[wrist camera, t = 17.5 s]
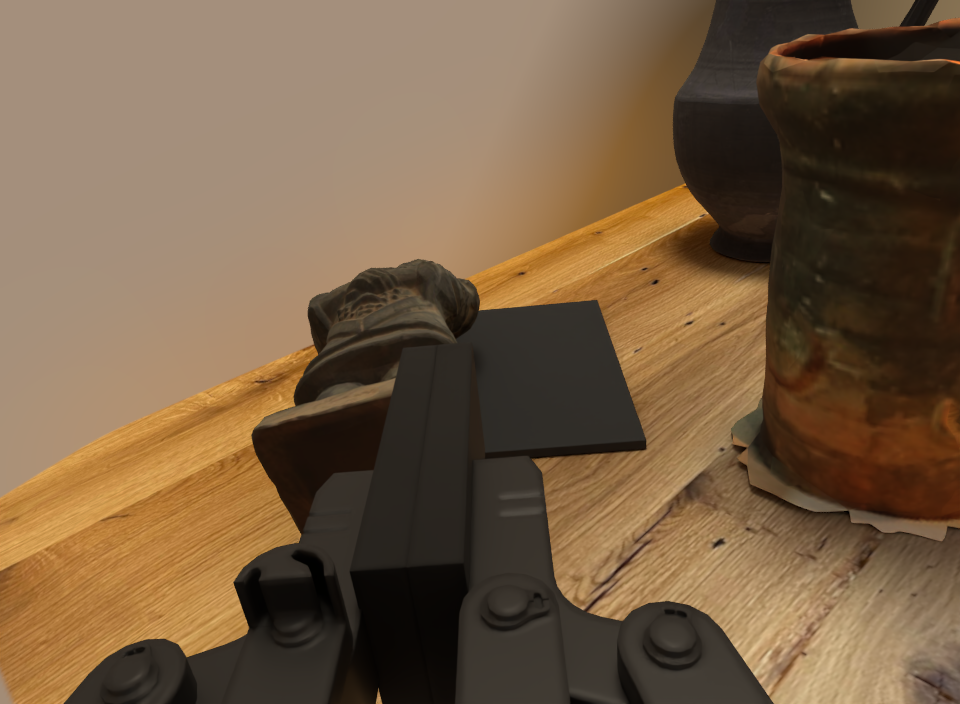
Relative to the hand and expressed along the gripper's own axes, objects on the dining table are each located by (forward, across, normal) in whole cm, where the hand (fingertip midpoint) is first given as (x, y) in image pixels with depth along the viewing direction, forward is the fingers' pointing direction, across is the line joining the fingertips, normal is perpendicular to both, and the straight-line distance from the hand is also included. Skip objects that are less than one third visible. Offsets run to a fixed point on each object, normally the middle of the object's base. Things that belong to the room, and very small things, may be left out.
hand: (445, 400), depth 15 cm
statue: (+11, -6, -10) cm, 16 cm away
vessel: (+16, +20, -15) cm, 30 cm away
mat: (+29, +1, -15) cm, 33 cm away
